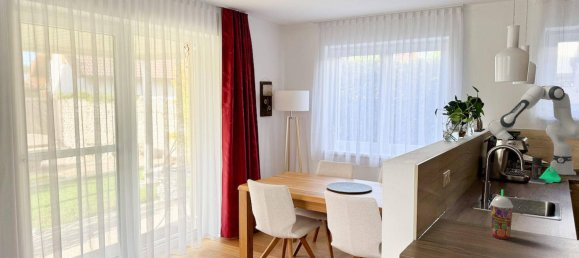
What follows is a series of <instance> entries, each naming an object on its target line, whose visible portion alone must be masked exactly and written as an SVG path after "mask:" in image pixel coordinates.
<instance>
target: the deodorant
mask: <svg viewBox="0 0 579 258" xmlns="http://www.w3.org/2000/svg"><path fill="white" fill-rule="evenodd" d="M542 161H543V157H540V156H539V157H538V156H535V157H534V156H533V157H532V161H531V162H532V163H531V164H532V165H531V166H532V167H531V178H539V177H541V175H542V167H543V166H542V165H543V162H542Z"/></svg>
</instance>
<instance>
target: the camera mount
mask: <svg viewBox="0 0 579 258" xmlns="http://www.w3.org/2000/svg"><path fill="white" fill-rule="evenodd" d="M550 169H552V171H550ZM539 178H540V179H545V180H546V181H548V183H554V182H555V183H560V182H561V180H562V178H561V176H560V174H558V173H557V172H556V170H555V169H554V168H553V167H550V166H549V167H547V168H546V169H545V171H544V172H543V173H541V177H539Z"/></svg>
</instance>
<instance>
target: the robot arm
mask: <svg viewBox="0 0 579 258" xmlns="http://www.w3.org/2000/svg"><path fill="white" fill-rule="evenodd" d="M540 100H547V101H552V105H553V117H554V119H556V120H558V121H559V122H560V123H552V124H548V125H547V126H546V128H545V134H546V135H547V136H548V137H549V138H550V140H551V141H552V144H553V156H552V161H550V166H549V167H553V168H554V169H555V170H556V172H557V173H558V175H564V176H565V175H566V176H567V175H568V176H576V175H577V173H576V171H575V168H574V163H573V162H572V159H573V158H572V157H573V156H572V146H571V144H570V143H568V142H567V141H566V139H571V140H573V139H579V124H577V122H575V119H574V118H573V115H572V109H571V100H570V96H569V94H568V93H567V92H566V91H565V90H564V89H563V87H562V86H559V85H542V86H541V85H533V86H532V87H530V88H529V89H527V91H526V92H524V94H523V95H522V96H521V97H520V99H519V100H518V102H517V104H516V105H515V106H514V107H513V108H512V109H511V110H510V111H508V113H505V114H503V115H502V116H501V117H500V119H497V120H492V121H490V122H489V124H488V125H487V130H489V132H490V133H491V135H493V136H494V137H496V140H498V139H502V141H503V140H508V139H513V138H514V137H513V135H512V134H511V133H509V132H508V131H510V130H513V128H514V127H515V124H516V120H517V118H518V117H519V116H520V115H521V114H522V113H523V112H524V111H525V110H530V109H532V108H533V107H534V106H536V105H537V104H538V103H539V101H540ZM549 170H550V171H552V169H549Z"/></svg>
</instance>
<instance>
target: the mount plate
mask: <svg viewBox="0 0 579 258" xmlns="http://www.w3.org/2000/svg"><path fill="white" fill-rule="evenodd" d="M528 183H530V184H538V185H546V184H547V183H549V182H548V181H546V180H545V179H540V178H532V177H531V178H530V180H529V181H528Z"/></svg>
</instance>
